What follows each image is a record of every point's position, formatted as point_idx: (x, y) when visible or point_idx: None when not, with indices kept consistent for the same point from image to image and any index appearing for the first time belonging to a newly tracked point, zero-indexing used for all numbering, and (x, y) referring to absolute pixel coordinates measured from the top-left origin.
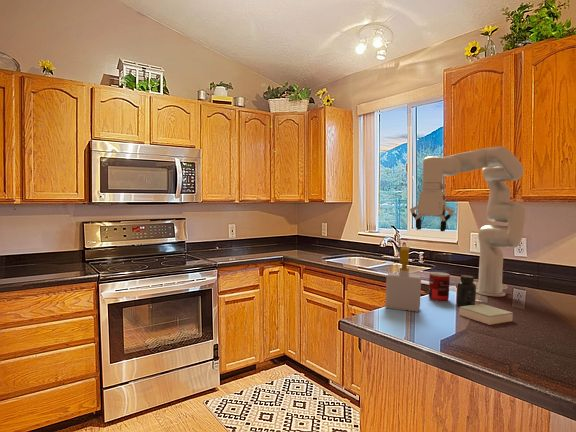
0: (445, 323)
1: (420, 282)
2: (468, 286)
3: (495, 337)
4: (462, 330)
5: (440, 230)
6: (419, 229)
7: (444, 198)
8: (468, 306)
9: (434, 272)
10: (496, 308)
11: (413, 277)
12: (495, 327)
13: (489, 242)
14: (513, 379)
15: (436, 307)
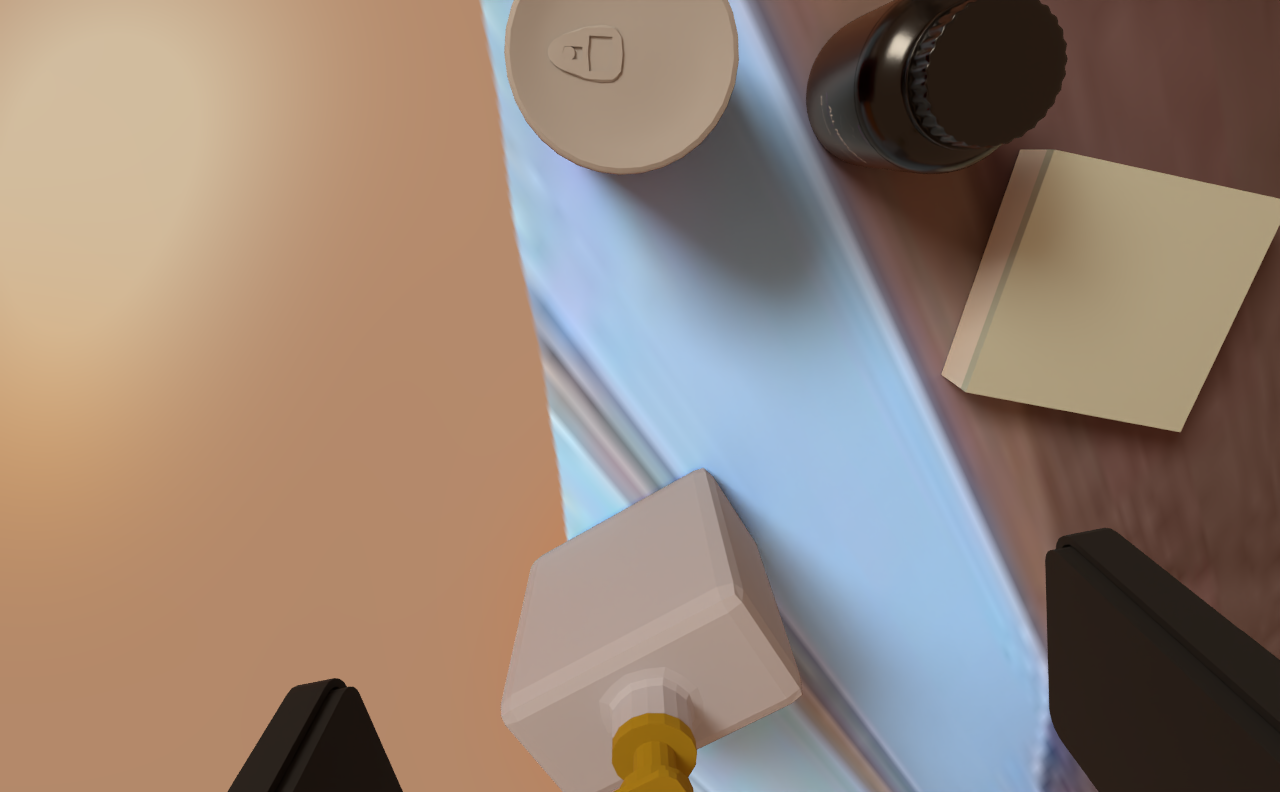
0: (958, 591)
1: (784, 644)
2: (993, 151)
3: (1214, 579)
4: None
5: (1058, 731)
6: (368, 741)
7: None
8: (1007, 332)
9: (528, 21)
10: (1174, 193)
11: (756, 716)
12: None
13: None
14: None
15: (757, 342)
